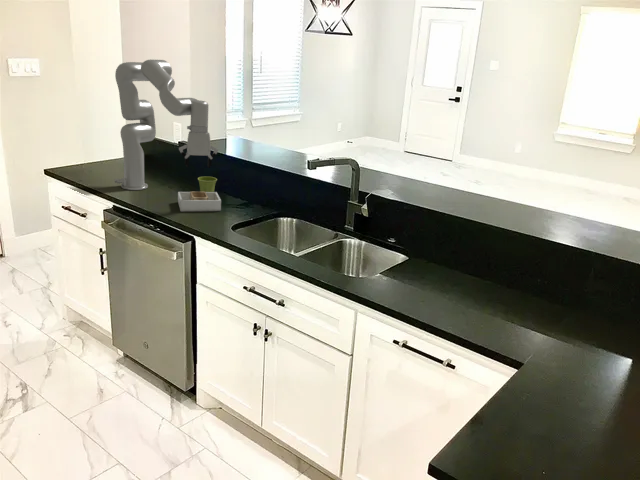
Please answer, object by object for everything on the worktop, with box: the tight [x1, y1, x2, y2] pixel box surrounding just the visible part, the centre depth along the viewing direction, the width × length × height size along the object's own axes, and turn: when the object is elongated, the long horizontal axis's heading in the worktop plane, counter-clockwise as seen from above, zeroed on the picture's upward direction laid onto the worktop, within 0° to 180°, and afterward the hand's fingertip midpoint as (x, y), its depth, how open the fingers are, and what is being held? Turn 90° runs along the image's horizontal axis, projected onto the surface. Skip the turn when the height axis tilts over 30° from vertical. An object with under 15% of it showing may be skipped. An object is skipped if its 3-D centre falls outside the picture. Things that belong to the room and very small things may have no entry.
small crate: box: [189, 191, 208, 200], centre depth 251 cm, size 7×10×5 cm
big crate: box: [177, 191, 222, 212], centre depth 252 cm, size 18×14×5 cm
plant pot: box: [197, 176, 218, 192], centre depth 269 cm, size 9×9×9 cm
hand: (198, 166), depth 247 cm, fingers open, 9 cm apart
